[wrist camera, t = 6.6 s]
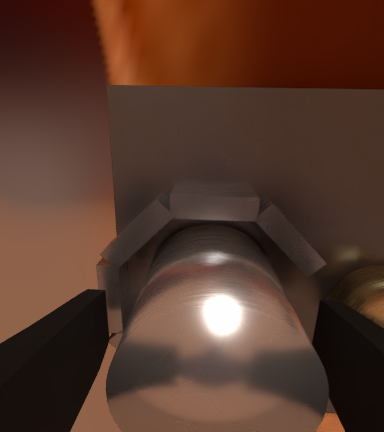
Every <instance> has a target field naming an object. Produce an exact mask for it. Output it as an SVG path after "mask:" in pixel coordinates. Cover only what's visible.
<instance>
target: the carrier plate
mask: <svg viewBox="0 0 384 432" xmlns="http://www.w3.org/2000/svg"><path fill="white" fill-rule="evenodd" d="M107 96H108V111H109V126H110V141H111V155H112V171H113V186H114V201H115V216H116V230H117V231H116V232H117V237H116V238H115V239H114V240H113V241H112V242H111V243H110V244H109V245H108V246H107V247H106V248H105V249H104V251H103V252H102V253H101V254H100V255H101V256H102V257H103V258H102V259H101V260H100V261H99V263H98V264H97V265H96V268H97V279H98V290H105V291H106V303H107V315H108V327H109V333H112V334H111V336H110V340H109V343H110V344H111V345H113V346H114V347H115V348H116V349H117V347H118V345H119V342H120V340H121V337H122V335H123V332H124V330H125V327H126V325H127V322H128V320H129V318H130V315H131V313H132V310H133V308H134V305H135V303H136V300H137V298H138V295H139V293H140V290H141V288H142V285H143V283H144V280H145V278H146V275H147V273H148V270H149V268H150V265H151V263H152V261H153V258H154V256H155V254H156V253H157V251H158V249H159V248H160V247H161V246H162V244H163V243H164V242H166V241H167V240H168V239H169V238H170V237H172V236H173V235H174V234H176V233H178V232H180V231H182V230H184V229H187V228H189V227H193V226H197V225H205V224H216V225H223V226H228V227H231V228H234V229H237V230H239V231H241V232H243V233H245V234H246V235H248V236H249V237H251V238H252V239H253V240H254V241H255V242H256V243H257V244H258V245H259V246H260V247H261V248H262V250H263V251H264V253H265V254H266V256H267V258H268V260H269V262H270V264H271V266H272V268H273V270H274V272H275V274H276V276H277V277H278V279H279V281H280V283H281V285H282V287H283V289H284V291H285V293H286V295H287V297H288V299H289V301H290V303H291V304H292V306H293V308H294V310H295V312H296V314H297V316H298V318H299V320H300V322H301V324H302V326H303V328H304V330H305V332H306V333H307V335H308V337H309V339H310V341H311V343H312V340H313V335H314V329H315V324H316V319H317V314H318V308H319V303H320V300H338V301H341V302H343V303H344V304H346V305H348V306H350V307H351V308H353V309H354V310H356V311H358V312H359V313H361V314H362V315H364V316H365V317H367V318H368V319H370V320H371V321H373V322H374V323H376V324H377V325H379V326H381V327H382V328H384V89H322V88H258V87H194V86H130V85H107ZM325 413H336V411H335V409H334V407H333V405H332V403H331V401H330V399H329V397H328V404H327V409H326V412H325Z"/></svg>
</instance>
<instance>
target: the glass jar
mask: <svg viewBox="0 0 384 432" xmlns="http://www.w3.org/2000/svg"><path fill="white" fill-rule="evenodd" d="M106 394H107V402H108V405H109V408H110V412H111V414H112V416H113V418H114V420H115V422H116V424H117V425H118V427H119V428H120V430H121V431H122V432H316V430H317V429H318V427H319V425H320V424H321V422H322V420H323V417H324V415H325V412H326V409H327V404H328V397H329V387H328V380H327V375H326V372H325V369H324V366H323V364H322V362H321V361H320V359H319V357H318V355H317V353H316V351H315V349H314V347H313V345H312V343H311V341H310V339H309V337H308V335H307V333H306V332H305V330H304V328H303V326H302V324H301V322H300V320H299V318H298V316H297V314H296V312H295V310H294V308H293V306H292V304H291V303H290V301H289V299H288V297H287V295H286V293H285V291H284V289H283V287H282V285H281V283H280V281H279V279H278V277H277V276H276V274H275V272H274V270H273V268H272V266H271V264H270V262H269V260H268V258H267V256H266V254H265V253H264V251H263V250H262V248H261V247H260V246H259V245H258V244H257V243H256V242H255V241H254V240H253V239H252V238H251V237H249V236H248V235H246V234H245V233H243V232H241V231H239V230H237V229H234V228H231V227H228V226H223V225H216V224H205V225H197V226H193V227H189V228H187V229H184V230H182V231H180V232H178V233H176V234H174V235H173V236H172V237H170V238H169V239H168V240H167V241H166V242H164V243H163V244H162V246H161V247H160V248H159V249H158V251H157V253H156V254H155V256H154V258H153V261H152V263H151V265H150V268H149V270H148V273H147V275H146V278H145V280H144V283H143V285H142V288H141V290H140V293H139V295H138V298H137V300H136V303H135V305H134V308H133V310H132V313H131V315H130V318H129V320H128V322H127V325H126V327H125V330H124V332H123V335H122V337H121V340H120V342H119V345H118V347H117V350H116V352H115V355H114V357H113V360H112V362H111V365H110V367H109V370H108V375H107V380H106Z"/></svg>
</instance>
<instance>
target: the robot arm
mask: <svg viewBox="0 0 384 432" xmlns="http://www.w3.org/2000/svg"><path fill="white" fill-rule="evenodd" d="M109 340H110V338H109V327H108V315H107V303H106V291H105V290H94V289H93V290H91V289H87V290H86V291H84V292H82V293H80V294H79V295H77V296H76V297H74V298H72V299H71V300H69V301H68V302H66V303H65V304H63V305H62V306H60V307H59V308H57V309H56V310H54V311H53V312H51V313H50V314H48V315H46V316H45V317H43V318H42V319H40V320H39V321H37V322H35V323H34V324H32V325H31V326H29V327H27V328H26V329H24V330H22V331H21V332H19V333H17V334H16V335H14V336H12V337H11V338H9V339H7V340H6V341H4V342H2V343H1V344H0V432H70V431H71V428H72V426H73V424H74V422H75V420H76V418H77V416H78V414H79V412H80V410H81V408H82V405H83V403H84V401H85V399H86V397H87V395H88V393H89V391H90V389H91V386H92V384H93V382H94V380H95V378H96V376H97V373H98V371H99V369H100V366H101V364H102V361H103V358H104V355H105V352H106V349H107V346H108V343H109ZM312 345H313V347H314V349H315V351H316V353H317V355H318V357H319V359H320V361H321V362H322V364H323V366H324V369H325V372H326V375H327V380H328V387H329V399H330V401H331V403H332V405H333V407H334V409H335V411H336V413H337V415H338V417H339V419H340V422H341V424H342V426H343V428H344V430H345V432H384V328H382V327H381V326H379V325H377V324H376V323H374V322H373V321H371V320H370V319H368V318H367V317H365V316H364V315H362V314H361V313H359V312H358V311H356V310H354V309H353V308H351V307H350V306H348V305H346V304H344V303H343V302H341V301H338V300H320V303H319V308H318V314H317V319H316V324H315V329H314V335H313V340H312Z"/></svg>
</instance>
